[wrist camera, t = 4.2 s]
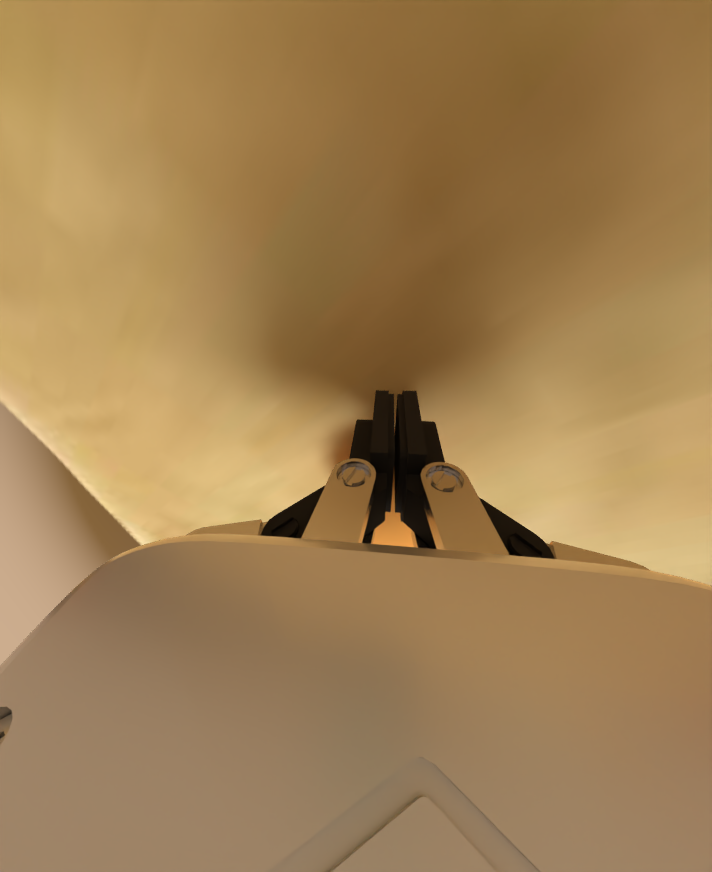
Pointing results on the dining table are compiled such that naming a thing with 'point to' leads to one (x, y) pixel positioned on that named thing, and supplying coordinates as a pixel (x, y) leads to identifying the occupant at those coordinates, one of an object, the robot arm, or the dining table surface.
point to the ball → (393, 528)
